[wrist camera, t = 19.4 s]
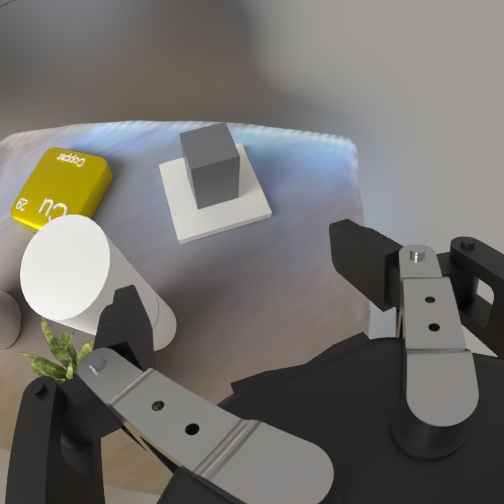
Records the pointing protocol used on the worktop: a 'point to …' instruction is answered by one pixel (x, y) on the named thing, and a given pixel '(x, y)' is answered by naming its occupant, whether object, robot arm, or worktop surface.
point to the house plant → (58, 356)
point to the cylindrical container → (84, 278)
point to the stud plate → (216, 216)
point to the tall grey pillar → (211, 164)
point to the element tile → (61, 188)
